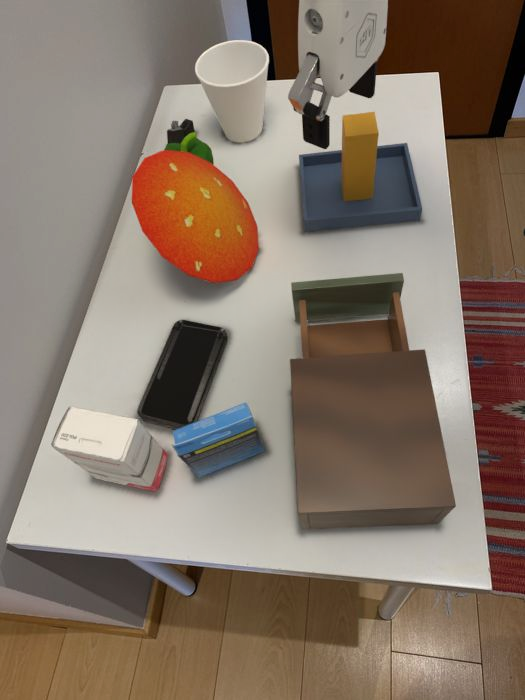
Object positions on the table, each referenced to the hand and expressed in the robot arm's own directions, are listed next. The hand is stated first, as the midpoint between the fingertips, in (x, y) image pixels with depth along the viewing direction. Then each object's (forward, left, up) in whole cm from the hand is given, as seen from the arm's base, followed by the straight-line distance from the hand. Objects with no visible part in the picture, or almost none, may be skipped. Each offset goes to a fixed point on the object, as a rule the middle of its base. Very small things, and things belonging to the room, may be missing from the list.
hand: (339, 118), depth 59 cm
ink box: (+28, +34, -20) cm, 49 cm away
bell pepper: (+22, -12, -20) cm, 33 cm away
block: (-4, -8, -20) cm, 22 cm away
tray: (-4, -8, -20) cm, 22 cm away
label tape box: (+16, +33, -20) cm, 42 cm away
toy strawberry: (+19, +1, -20) cm, 28 cm away
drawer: (0, +21, -19) cm, 29 cm away
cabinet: (0, +34, -20) cm, 39 cm away
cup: (+14, -26, -20) cm, 36 cm away
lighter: (+25, -23, -20) cm, 40 cm away
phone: (+22, +22, -20) cm, 37 cm away
